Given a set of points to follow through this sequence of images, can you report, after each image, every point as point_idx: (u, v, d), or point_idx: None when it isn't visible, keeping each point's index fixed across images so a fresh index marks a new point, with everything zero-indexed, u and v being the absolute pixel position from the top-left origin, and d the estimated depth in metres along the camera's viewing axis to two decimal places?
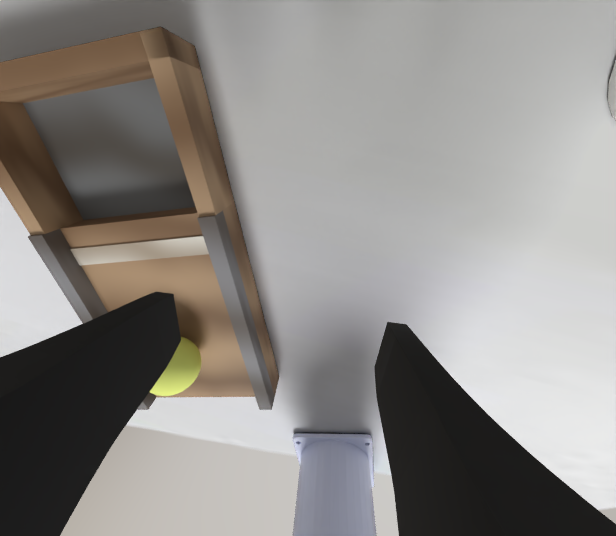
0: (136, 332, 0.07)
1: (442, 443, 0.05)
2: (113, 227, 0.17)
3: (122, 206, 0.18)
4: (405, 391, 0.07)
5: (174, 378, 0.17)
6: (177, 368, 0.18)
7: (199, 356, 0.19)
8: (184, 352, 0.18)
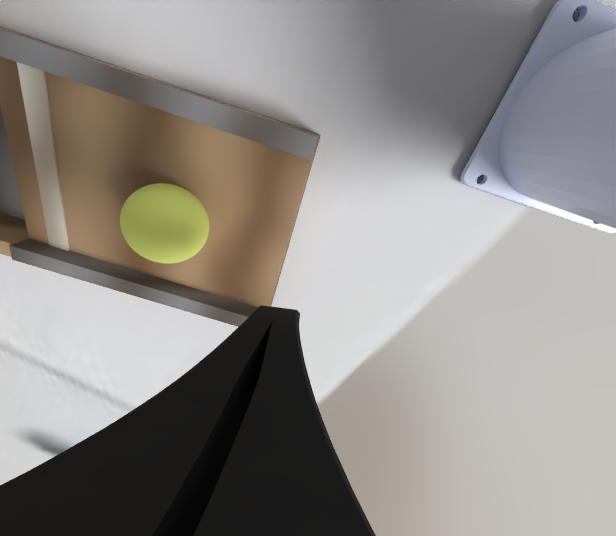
0: (263, 350, 0.07)
1: None
2: (21, 182, 0.16)
3: None
4: None
5: (142, 206, 0.12)
6: (137, 197, 0.12)
7: (175, 185, 0.13)
8: (142, 187, 0.13)
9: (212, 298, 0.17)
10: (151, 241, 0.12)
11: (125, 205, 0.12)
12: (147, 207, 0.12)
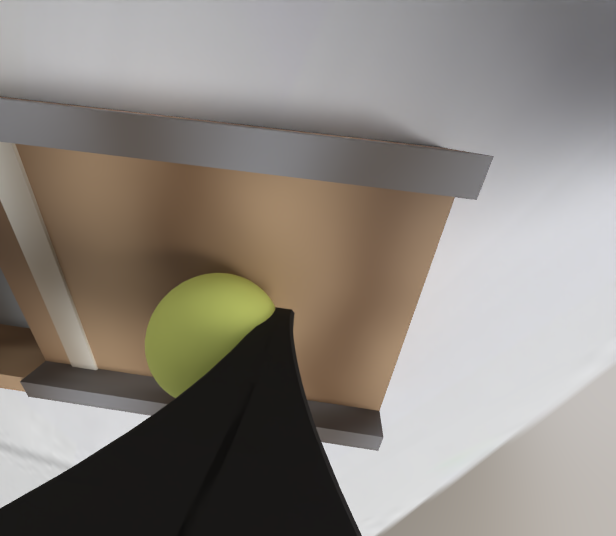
0: None
1: None
2: (21, 297, 0.11)
3: None
4: None
5: (167, 328, 0.07)
6: (163, 309, 0.07)
7: (226, 275, 0.08)
8: (178, 285, 0.08)
9: None
10: (182, 388, 0.07)
11: (149, 322, 0.07)
12: (174, 331, 0.07)
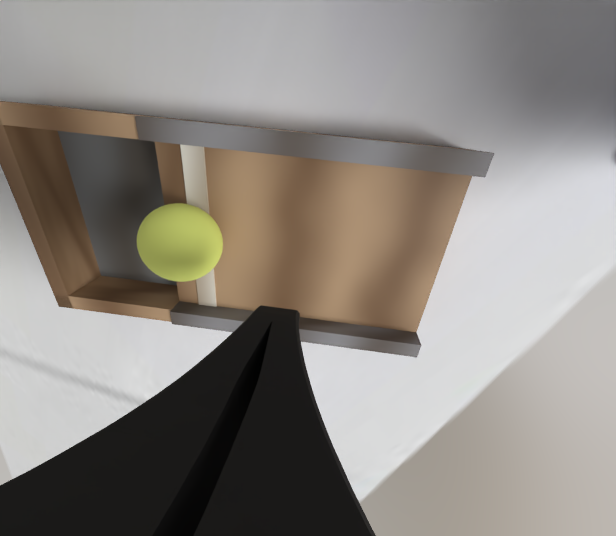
0: (263, 350, 0.07)
1: None
2: None
3: None
4: None
5: (215, 222, 0.14)
6: (210, 222, 0.13)
7: (168, 206, 0.13)
8: (191, 221, 0.13)
9: (361, 329, 0.17)
10: None
11: (214, 235, 0.13)
12: (214, 220, 0.14)
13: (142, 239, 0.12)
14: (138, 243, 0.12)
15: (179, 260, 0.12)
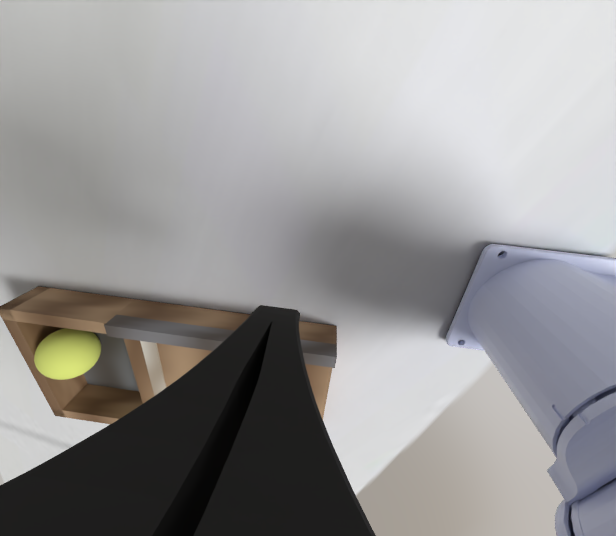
0: (263, 350, 0.07)
1: None
2: (140, 383, 0.23)
3: None
4: None
5: None
6: None
7: (74, 330, 0.21)
8: None
9: None
10: None
11: None
12: None
13: (97, 343, 0.22)
14: (97, 348, 0.22)
15: None
